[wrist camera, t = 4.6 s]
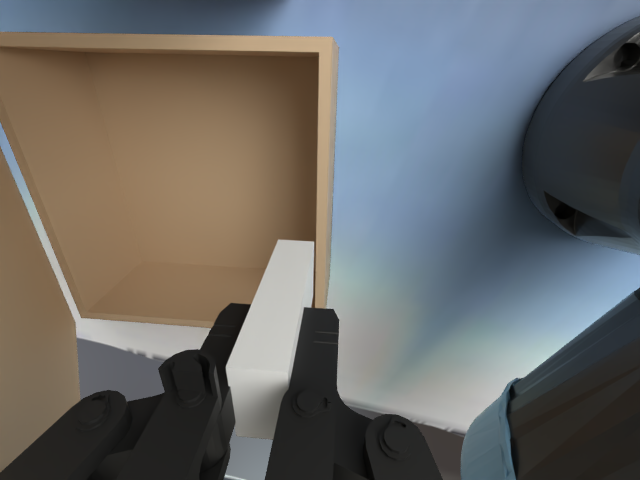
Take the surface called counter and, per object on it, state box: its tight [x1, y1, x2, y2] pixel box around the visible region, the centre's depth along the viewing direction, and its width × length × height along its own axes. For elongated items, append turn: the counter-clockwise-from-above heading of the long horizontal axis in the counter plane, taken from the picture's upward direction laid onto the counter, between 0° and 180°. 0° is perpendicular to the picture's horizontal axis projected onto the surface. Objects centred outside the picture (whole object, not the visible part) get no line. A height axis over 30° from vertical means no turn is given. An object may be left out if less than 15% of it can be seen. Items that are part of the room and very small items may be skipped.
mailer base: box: [0, 32, 339, 328], centre depth 23 cm, size 18×18×8 cm
